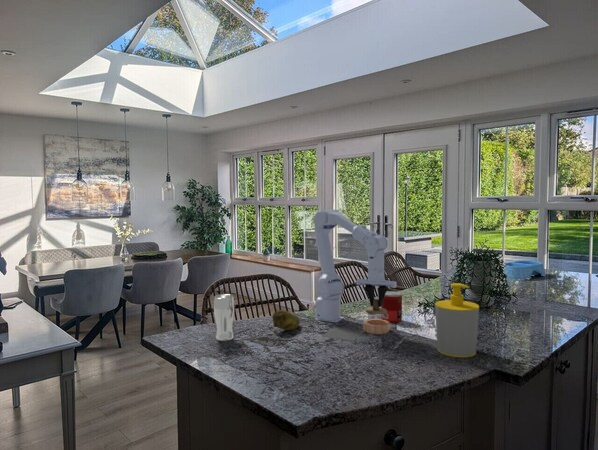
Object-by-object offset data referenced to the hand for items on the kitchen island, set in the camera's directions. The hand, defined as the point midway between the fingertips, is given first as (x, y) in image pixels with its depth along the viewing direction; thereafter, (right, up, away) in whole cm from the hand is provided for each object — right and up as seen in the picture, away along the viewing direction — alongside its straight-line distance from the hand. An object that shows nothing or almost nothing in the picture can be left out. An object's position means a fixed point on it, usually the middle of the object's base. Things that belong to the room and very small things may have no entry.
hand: (376, 305), depth 157 cm
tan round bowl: (0, -9, +1) cm, 9 cm away
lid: (0, -2, 0) cm, 2 cm away
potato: (-32, -10, +3) cm, 34 cm away
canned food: (+9, -9, +14) cm, 19 cm away
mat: (-12, -10, -3) cm, 16 cm away
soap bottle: (+21, -10, -21) cm, 32 cm away
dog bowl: (+109, -3, +108) cm, 153 cm away
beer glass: (-54, -11, -5) cm, 55 cm away
